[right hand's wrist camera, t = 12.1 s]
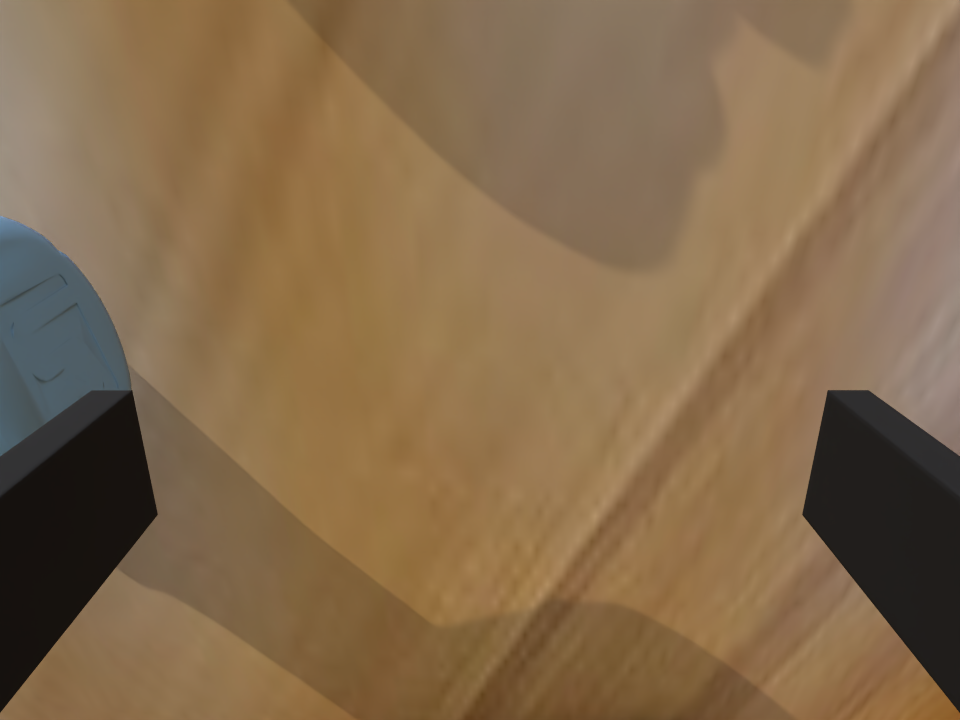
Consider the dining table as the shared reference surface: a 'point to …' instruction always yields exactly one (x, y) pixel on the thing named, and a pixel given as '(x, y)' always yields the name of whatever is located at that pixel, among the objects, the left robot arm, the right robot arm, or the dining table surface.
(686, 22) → the dining table surface
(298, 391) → the dining table surface
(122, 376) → the left robot arm
